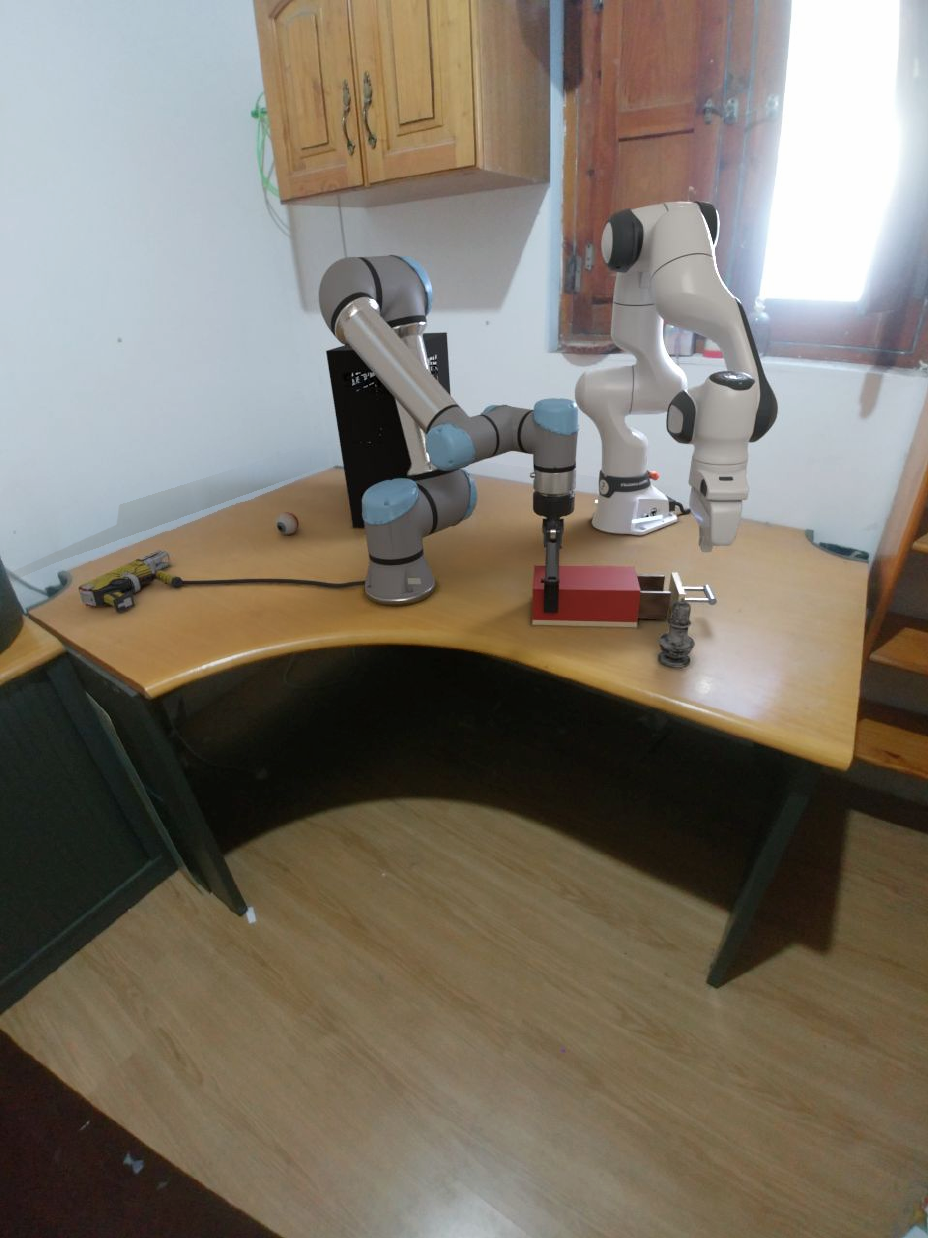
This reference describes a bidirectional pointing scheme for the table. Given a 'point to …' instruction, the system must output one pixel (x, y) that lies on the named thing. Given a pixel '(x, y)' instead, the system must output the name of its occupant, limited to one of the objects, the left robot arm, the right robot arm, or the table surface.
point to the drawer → (666, 595)
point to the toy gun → (127, 582)
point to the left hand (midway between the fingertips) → (551, 595)
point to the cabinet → (590, 596)
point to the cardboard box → (373, 419)
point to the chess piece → (677, 637)
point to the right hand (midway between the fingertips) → (704, 549)
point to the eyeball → (287, 523)
